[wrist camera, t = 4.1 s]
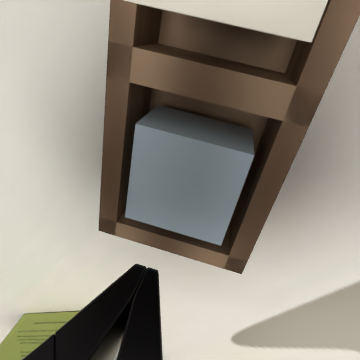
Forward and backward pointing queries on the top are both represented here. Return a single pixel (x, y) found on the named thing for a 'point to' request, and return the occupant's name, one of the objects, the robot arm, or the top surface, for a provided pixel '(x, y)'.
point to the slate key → (187, 172)
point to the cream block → (252, 14)
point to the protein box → (33, 333)
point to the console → (213, 107)
